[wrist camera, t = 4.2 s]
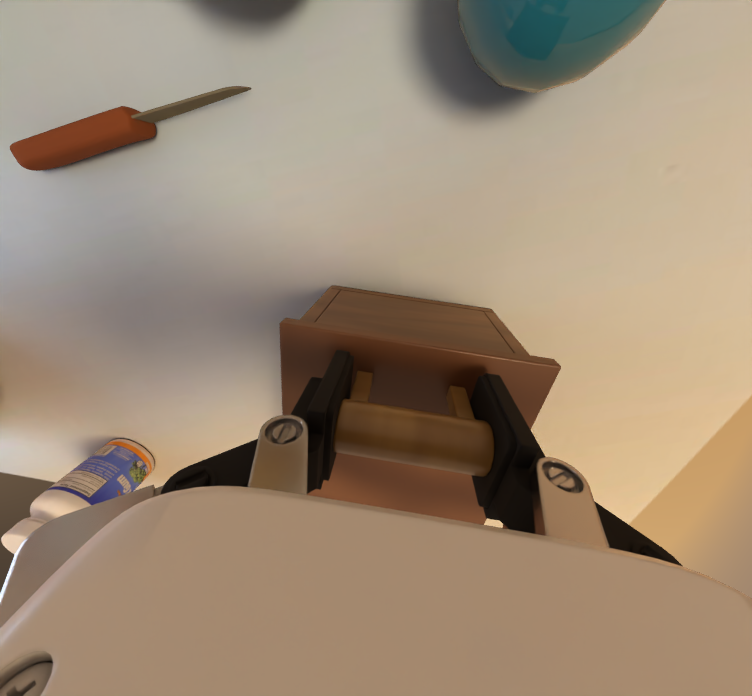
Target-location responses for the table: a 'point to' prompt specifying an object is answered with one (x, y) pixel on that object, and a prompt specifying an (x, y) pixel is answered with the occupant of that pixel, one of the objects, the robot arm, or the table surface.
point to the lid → (409, 414)
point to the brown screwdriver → (104, 132)
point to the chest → (413, 318)
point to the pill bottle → (86, 486)
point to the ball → (549, 37)
